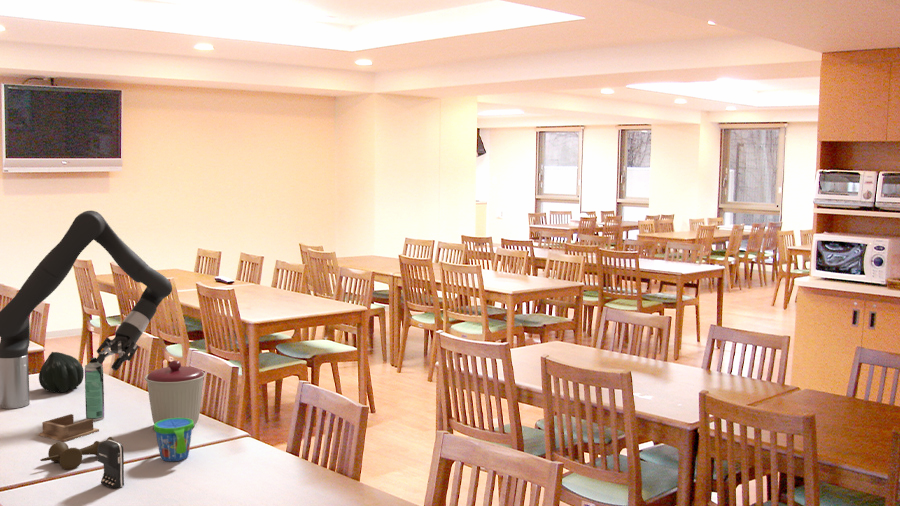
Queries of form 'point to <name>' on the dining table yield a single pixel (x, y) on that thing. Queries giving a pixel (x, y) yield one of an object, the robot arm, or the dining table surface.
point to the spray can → (94, 390)
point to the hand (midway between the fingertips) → (104, 367)
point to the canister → (175, 392)
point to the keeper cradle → (67, 428)
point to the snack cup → (174, 438)
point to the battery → (111, 463)
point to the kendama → (70, 454)
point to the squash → (60, 373)
